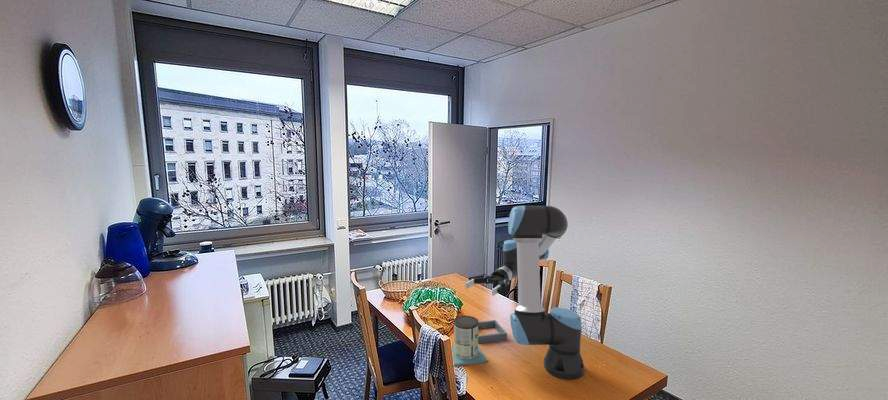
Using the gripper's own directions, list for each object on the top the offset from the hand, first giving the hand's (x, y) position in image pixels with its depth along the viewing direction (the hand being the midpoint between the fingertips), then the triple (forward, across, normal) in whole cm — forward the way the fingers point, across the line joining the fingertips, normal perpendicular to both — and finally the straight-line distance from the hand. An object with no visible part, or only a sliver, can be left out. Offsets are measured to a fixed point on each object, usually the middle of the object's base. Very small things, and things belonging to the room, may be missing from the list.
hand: (478, 289), depth 155 cm
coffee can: (+10, 0, -25) cm, 27 cm away
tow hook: (-17, +28, -26) cm, 42 cm away
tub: (-11, +2, -26) cm, 28 cm away
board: (+10, 0, -26) cm, 28 cm away
